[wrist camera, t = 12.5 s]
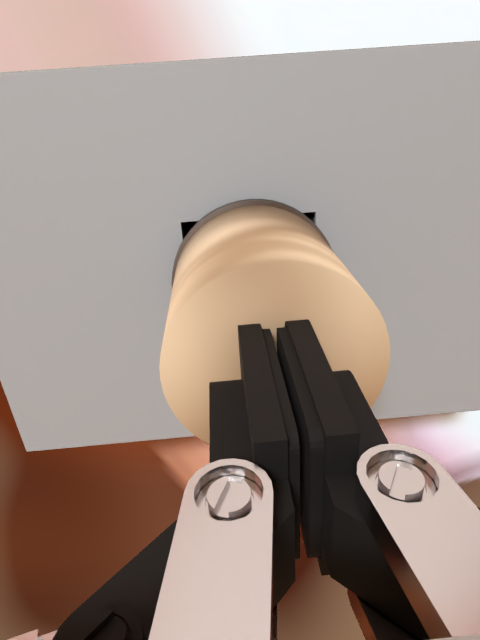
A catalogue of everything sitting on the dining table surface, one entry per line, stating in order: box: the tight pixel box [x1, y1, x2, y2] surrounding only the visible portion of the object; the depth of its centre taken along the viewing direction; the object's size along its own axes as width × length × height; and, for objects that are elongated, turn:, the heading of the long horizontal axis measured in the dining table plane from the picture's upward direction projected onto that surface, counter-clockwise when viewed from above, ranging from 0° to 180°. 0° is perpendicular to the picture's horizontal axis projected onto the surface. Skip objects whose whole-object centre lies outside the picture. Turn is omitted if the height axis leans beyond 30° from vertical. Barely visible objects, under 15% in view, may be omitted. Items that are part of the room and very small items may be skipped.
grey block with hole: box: [0, 41, 480, 451], centre depth 18 cm, size 20×14×4 cm
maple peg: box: [159, 199, 390, 445], centre depth 15 cm, size 6×6×9 cm
